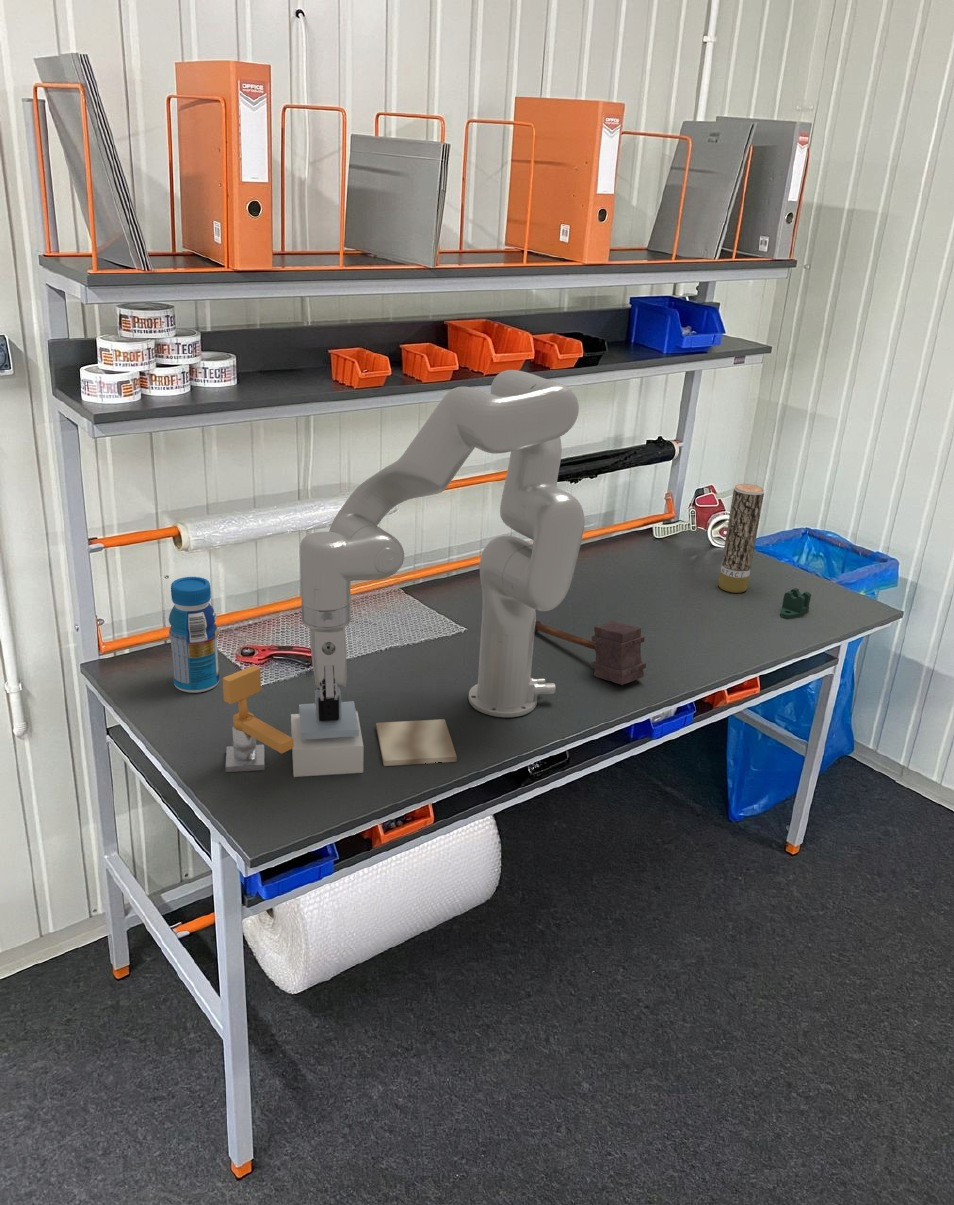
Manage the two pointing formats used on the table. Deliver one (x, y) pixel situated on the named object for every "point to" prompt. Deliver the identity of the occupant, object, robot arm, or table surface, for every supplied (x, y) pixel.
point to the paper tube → (741, 537)
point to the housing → (325, 753)
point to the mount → (795, 604)
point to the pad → (415, 742)
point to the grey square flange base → (244, 753)
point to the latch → (239, 690)
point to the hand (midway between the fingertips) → (328, 714)
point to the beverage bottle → (193, 636)
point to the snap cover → (328, 729)
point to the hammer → (610, 650)
